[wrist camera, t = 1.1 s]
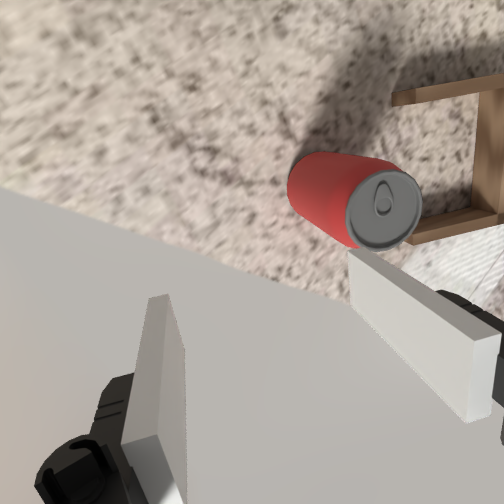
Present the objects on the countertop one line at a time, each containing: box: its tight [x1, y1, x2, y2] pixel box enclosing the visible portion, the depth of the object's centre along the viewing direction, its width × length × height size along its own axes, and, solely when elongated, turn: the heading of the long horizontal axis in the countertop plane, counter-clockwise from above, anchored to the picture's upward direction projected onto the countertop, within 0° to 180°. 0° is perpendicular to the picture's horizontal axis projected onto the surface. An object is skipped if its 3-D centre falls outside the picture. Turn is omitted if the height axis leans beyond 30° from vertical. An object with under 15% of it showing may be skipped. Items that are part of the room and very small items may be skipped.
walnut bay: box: [392, 73, 504, 246], centre depth 33 cm, size 14×11×4 cm
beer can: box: [287, 151, 423, 252], centre depth 27 cm, size 7×7×12 cm
